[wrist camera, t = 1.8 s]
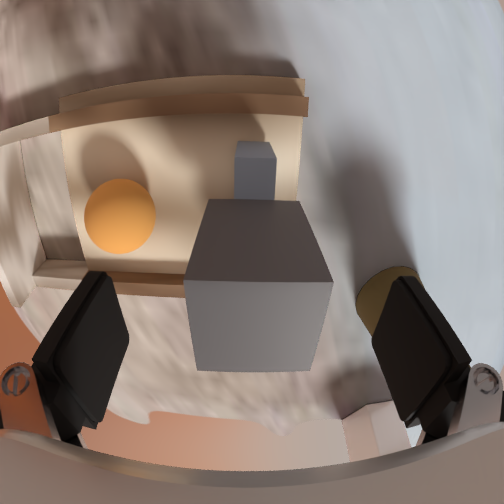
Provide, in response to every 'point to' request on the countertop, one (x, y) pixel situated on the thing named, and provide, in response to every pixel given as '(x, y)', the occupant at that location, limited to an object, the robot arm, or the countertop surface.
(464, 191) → the countertop surface
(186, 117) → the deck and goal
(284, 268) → the grey stepped block
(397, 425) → the jar
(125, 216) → the ball
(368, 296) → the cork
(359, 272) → the countertop surface
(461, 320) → the countertop surface
